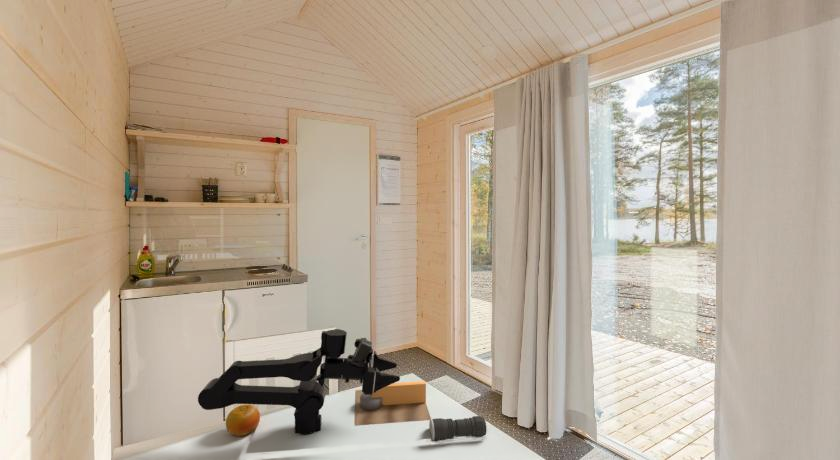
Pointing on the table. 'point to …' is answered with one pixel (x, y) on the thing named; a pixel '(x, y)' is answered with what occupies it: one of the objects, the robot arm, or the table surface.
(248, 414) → the fruit
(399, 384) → the orange and grey block
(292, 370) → the robot arm
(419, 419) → the board
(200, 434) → the table surface
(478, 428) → the flashlight
